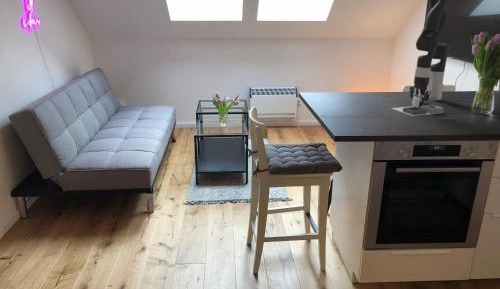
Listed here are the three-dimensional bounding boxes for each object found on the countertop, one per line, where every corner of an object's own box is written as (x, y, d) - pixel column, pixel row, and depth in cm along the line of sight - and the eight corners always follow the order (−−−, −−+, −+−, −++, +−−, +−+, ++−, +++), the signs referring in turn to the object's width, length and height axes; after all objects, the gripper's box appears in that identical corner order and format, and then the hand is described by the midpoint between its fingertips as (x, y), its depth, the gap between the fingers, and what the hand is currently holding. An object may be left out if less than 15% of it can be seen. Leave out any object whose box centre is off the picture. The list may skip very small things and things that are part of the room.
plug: (417, 106, 225) (419, 95, 223) (423, 108, 221) (424, 97, 219) (411, 107, 223) (412, 96, 221) (416, 108, 220) (417, 98, 218)
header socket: (415, 110, 217) (416, 106, 216) (425, 113, 210) (426, 109, 210) (402, 111, 214) (403, 107, 213) (412, 114, 207) (413, 111, 207)
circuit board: (419, 107, 227) (421, 100, 226) (443, 114, 212) (444, 107, 211) (390, 110, 221) (391, 102, 219) (412, 117, 206) (413, 110, 204)
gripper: (437, 77, 212) (432, 109, 217) (418, 73, 224) (413, 103, 230) (426, 78, 209) (421, 110, 215) (407, 74, 222) (403, 104, 227)
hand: (417, 107), depth 222 cm, fingers closed on plug, 4 cm apart
